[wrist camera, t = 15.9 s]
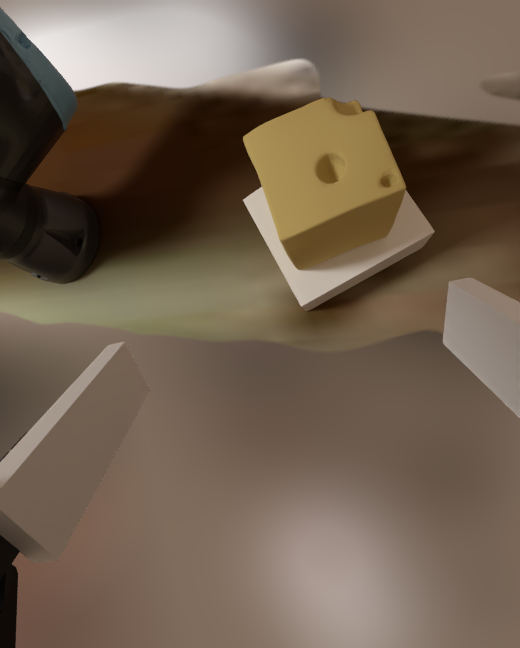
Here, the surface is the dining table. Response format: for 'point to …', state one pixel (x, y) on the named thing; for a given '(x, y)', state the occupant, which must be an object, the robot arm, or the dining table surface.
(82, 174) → the dining table surface
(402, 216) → the stand
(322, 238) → the cheese
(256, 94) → the dining table surface
